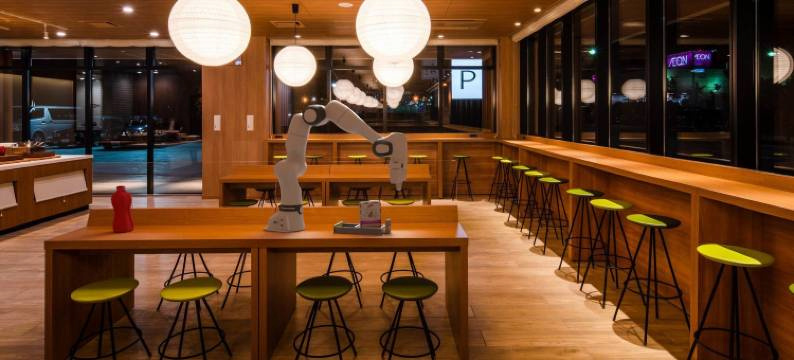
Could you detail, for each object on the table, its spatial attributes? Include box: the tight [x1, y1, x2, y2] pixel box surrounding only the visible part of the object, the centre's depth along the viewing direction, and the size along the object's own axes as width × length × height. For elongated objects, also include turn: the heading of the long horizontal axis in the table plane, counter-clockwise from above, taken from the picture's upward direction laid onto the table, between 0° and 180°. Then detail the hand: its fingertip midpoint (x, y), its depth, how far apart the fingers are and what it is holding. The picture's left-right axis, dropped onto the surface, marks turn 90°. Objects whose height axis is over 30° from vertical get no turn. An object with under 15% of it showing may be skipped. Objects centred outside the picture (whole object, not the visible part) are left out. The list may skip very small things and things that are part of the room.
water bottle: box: [110, 185, 135, 233], centre depth 286 cm, size 9×11×25 cm
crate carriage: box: [355, 218, 392, 234], centre depth 282 cm, size 18×9×7 cm, turn 74°
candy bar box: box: [358, 200, 382, 228], centre depth 282 cm, size 11×5×16 cm, turn 101°
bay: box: [333, 220, 383, 236], centre depth 284 cm, size 27×12×4 cm, turn 74°
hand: (398, 190), depth 276 cm, fingers closed
